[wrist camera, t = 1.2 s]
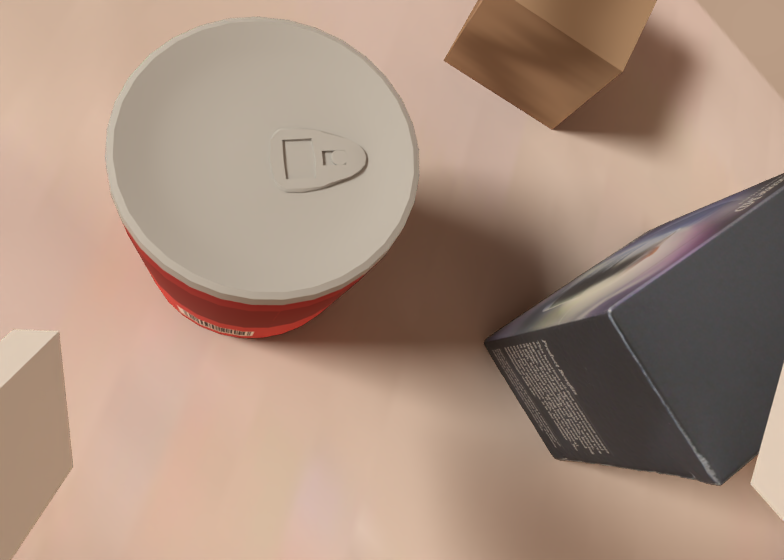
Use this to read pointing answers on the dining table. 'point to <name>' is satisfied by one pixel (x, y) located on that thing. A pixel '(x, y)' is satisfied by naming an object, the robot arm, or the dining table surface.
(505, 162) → the dining table surface
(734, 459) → the small box
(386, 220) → the canned food
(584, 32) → the walnut block
